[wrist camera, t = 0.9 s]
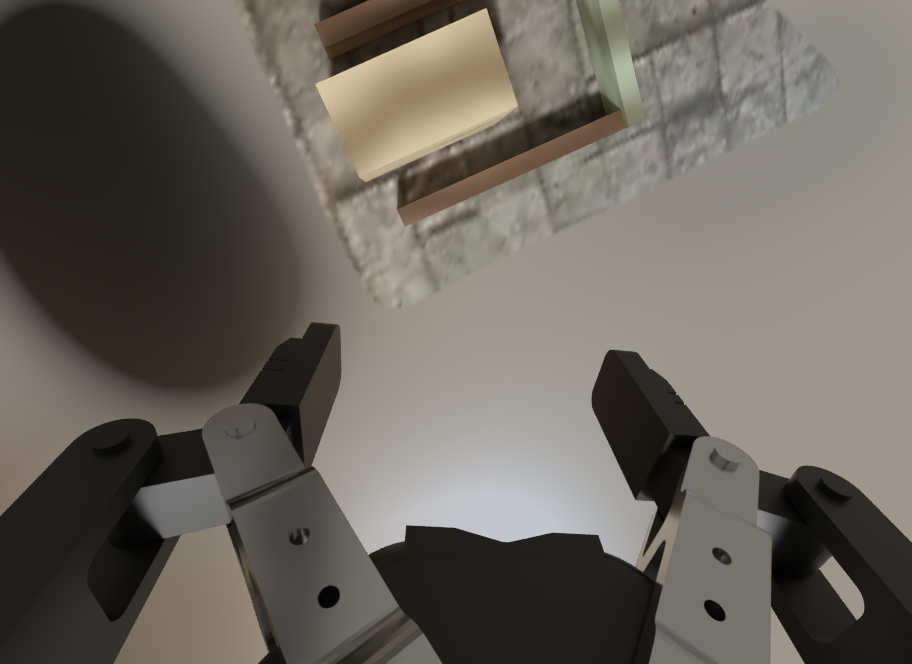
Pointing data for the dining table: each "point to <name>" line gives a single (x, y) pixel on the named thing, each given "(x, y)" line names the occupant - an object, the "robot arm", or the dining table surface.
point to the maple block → (420, 96)
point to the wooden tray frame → (598, 3)
